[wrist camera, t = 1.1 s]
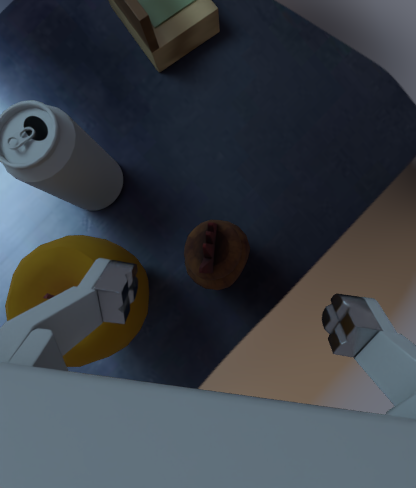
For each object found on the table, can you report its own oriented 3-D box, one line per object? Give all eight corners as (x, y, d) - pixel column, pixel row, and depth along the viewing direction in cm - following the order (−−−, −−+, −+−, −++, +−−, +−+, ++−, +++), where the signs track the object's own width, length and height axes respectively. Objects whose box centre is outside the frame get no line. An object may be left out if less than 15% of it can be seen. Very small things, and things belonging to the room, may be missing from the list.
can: (137, 183, 32) (79, 127, 20) (96, 224, 32) (14, 192, 20) (101, 147, 33) (27, 75, 22) (61, 186, 33) (-35, 136, 21)
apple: (180, 322, 29) (136, 355, 16) (96, 351, 30) (-9, 406, 17) (152, 235, 31) (93, 205, 18) (74, 265, 31) (-36, 255, 19)
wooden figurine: (228, 296, 29) (220, 314, 14) (186, 272, 30) (135, 266, 15) (255, 245, 29) (274, 210, 14) (212, 223, 30) (189, 170, 15)
